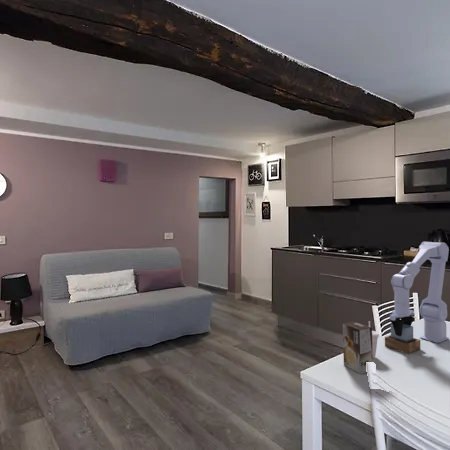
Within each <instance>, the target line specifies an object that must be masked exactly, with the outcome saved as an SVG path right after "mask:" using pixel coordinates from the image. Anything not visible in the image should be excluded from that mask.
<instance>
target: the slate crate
mask: <svg viewBox="0 0 450 450" xmlns="http://www.w3.org/2000/svg"><path fill="white" fill-rule="evenodd" d="M390 335H391V337H392V338H395V339H398V340H402V341H405V342H408V341H411V340H413V338H414V326H413V325H411V326H409V325H405V324H403V327H402V334H401V336H397V335H396V334H395V331H394V327H393V325H392V323H391V324H390Z"/></svg>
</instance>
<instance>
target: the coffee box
mask: <svg viewBox="0 0 450 450" xmlns="http://www.w3.org/2000/svg"><path fill="white" fill-rule="evenodd" d="M372 331H373V327H372V326H370V327H369V325H366V324H363V323H360V322H357V321H349V322H346V323H345V322H344V323H342V340H343V341H342V343H343V344H342V347H343V366H344V367H346V368H349V369H350V370H352V371H354V372H356V373H358V374H360V375H362V374H366V362H373V363H374V361H373V359H374V358H373V352H372Z"/></svg>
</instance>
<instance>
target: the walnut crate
mask: <svg viewBox="0 0 450 450" xmlns="http://www.w3.org/2000/svg"><path fill="white" fill-rule="evenodd" d="M384 347H387V348H389V349H392V350H395V351H398V352H402V353H404V354H408V355H410V354H412V353H415V352H418V351H420V350H421V339H420V338H419V339H418V338H414V337H413V340H411V341H408V342H405V341H402V340H398V339H395V338H392V337H391V334H390V335H386V336H384Z"/></svg>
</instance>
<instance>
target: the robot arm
mask: <svg viewBox="0 0 450 450" xmlns="http://www.w3.org/2000/svg"><path fill="white" fill-rule="evenodd" d="M449 248H450V247H449V246H448V244H447V243H445V242H440V241H439V242H437V241H435V242H434V241H433V242H432V241H422V242H421V243H420V245H419V246H418V250H419V251H418V252H417V254H416V255H415V257H414V258H413V260H412V261H408V262H406V264H405V265H404V267H402V269H400V271H399V272H398V273H396V274H394V275H392V277H391V280H390V283H391V286H392V290H393V293H394V297H393V299H394V300H393V301H394V310H392V313H391V314H389V321H390V323H391V324H392V325H393V327H394V331H395V334H396V335H397V336H401V334H402V327H403V324H405V325H409V326H412V323H413V321H414V320H415V317H414V315H415V310H412V309H410V289H411V288H412V286H413V283H414V279H415V277H416V276H417V275H418V274H419V272H420V271H421V268H420V267H421V266H422V265H424V263H426V261H427V260H428V261H430V263H431V268H430V274H429V275H430V277H429V286H428V293H427V297H425V298H424V299H422V300H421V304H420V306H419V314H420V316H421V317H422V319H423V320H424V321H423V323H424V324H423V325H424V327H423V329H424V332H423V335H422V336H419V337H420V338H419V339H422V340H425V341H430V342H433V343H437V344H439V343H441V342H444V341H446V340H449V339H450V338H449V337H448V336H447V323H446V321H445V320H446V319H447V317H448V309H447V308H448V304H447V303H446V302H445V301H443V300H442V294H443V284H444V277H445V271H446V270H445V269H446V262H448V260H449V259H448V258H449V253H450V252H449V251H450V249H449Z"/></svg>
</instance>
